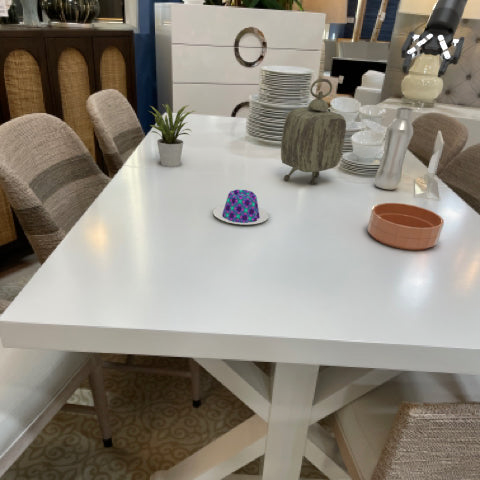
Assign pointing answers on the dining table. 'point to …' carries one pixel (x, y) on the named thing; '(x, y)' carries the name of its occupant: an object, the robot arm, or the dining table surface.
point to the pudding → (241, 209)
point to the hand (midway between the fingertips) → (421, 72)
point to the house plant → (170, 136)
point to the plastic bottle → (395, 150)
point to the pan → (405, 226)
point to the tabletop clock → (313, 137)
